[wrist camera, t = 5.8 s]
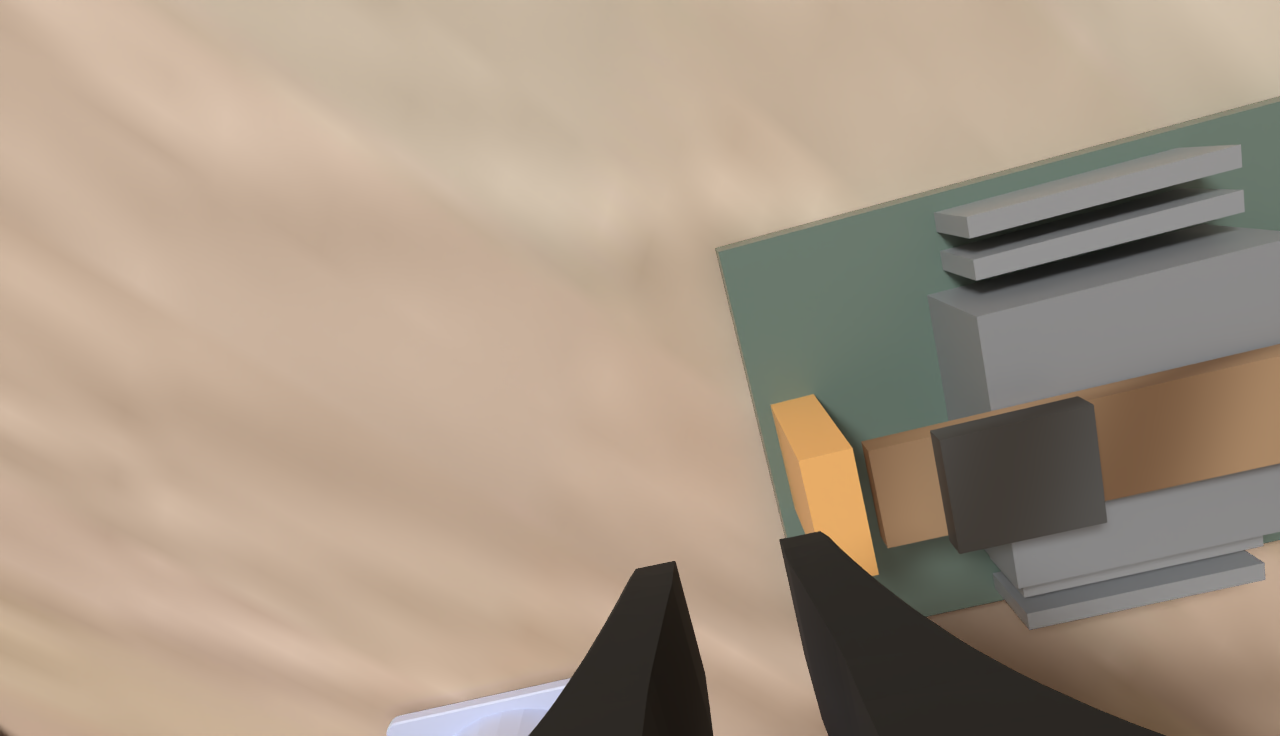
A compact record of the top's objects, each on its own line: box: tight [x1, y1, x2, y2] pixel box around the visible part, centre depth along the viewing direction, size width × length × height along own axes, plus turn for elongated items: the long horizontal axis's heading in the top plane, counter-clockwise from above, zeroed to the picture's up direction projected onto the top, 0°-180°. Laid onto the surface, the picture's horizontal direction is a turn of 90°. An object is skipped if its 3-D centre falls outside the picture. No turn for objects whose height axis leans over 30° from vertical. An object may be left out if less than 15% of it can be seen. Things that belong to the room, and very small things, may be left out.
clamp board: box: [715, 96, 1280, 630], centre depth 18 cm, size 12×16×6 cm
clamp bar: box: [861, 344, 1280, 554], centre depth 16 cm, size 13×3×1 cm, turn 105°
